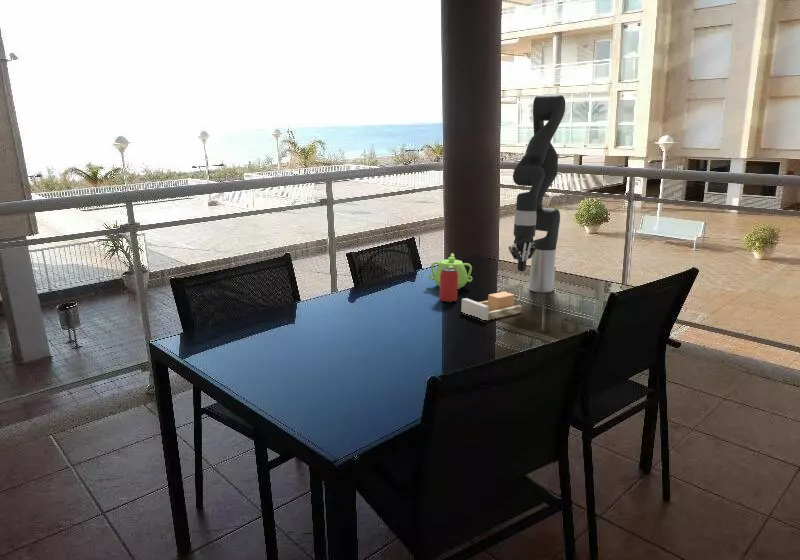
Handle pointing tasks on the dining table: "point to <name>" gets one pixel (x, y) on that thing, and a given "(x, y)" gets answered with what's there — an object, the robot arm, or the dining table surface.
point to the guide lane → (502, 311)
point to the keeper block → (500, 300)
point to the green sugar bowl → (452, 264)
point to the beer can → (448, 284)
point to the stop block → (475, 309)
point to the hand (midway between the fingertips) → (521, 270)
